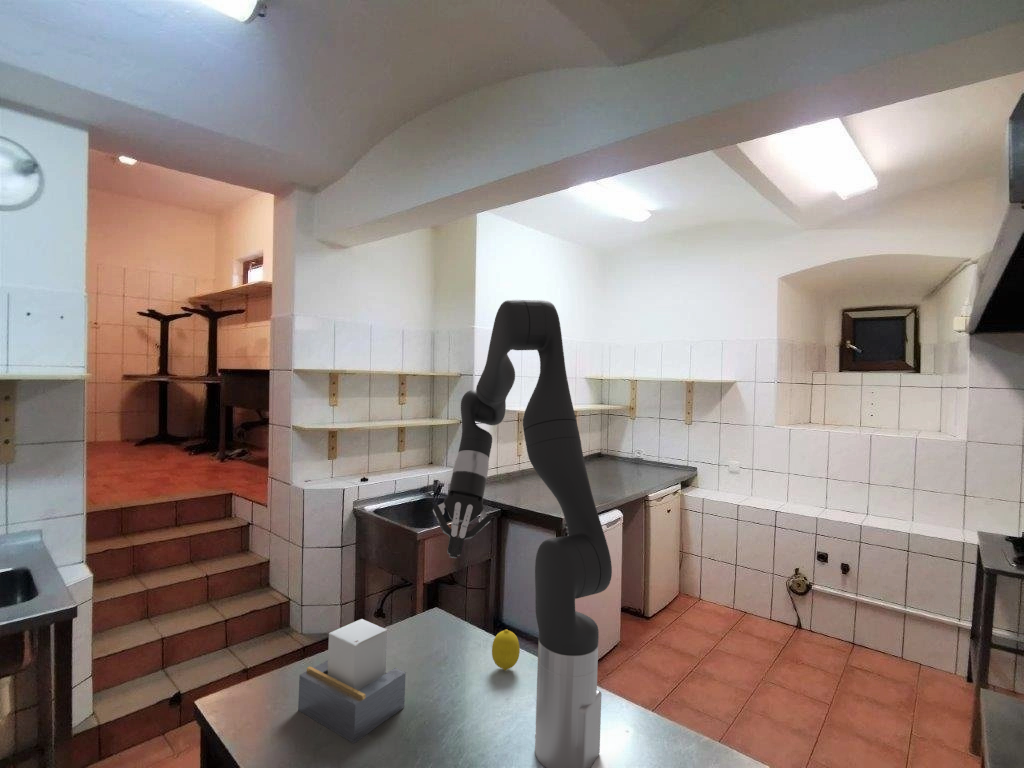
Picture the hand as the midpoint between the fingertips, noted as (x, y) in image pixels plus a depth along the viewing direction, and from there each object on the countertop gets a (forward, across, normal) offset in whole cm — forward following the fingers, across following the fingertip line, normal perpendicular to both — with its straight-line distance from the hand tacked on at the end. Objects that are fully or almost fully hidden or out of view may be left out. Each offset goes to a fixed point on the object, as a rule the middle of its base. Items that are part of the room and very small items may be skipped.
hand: (453, 557), depth 101 cm
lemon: (+18, +15, +7) cm, 25 cm away
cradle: (+27, -12, -1) cm, 29 cm away
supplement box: (+27, -12, 0) cm, 29 cm away
